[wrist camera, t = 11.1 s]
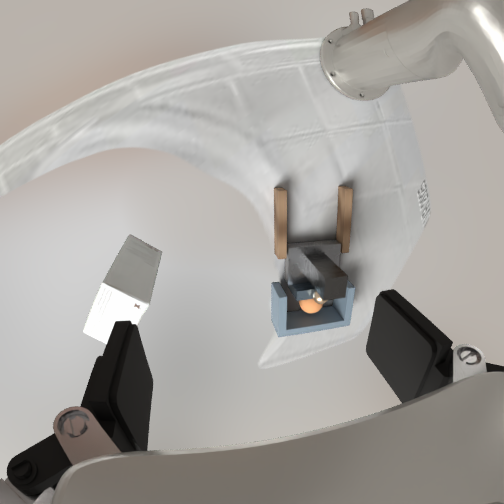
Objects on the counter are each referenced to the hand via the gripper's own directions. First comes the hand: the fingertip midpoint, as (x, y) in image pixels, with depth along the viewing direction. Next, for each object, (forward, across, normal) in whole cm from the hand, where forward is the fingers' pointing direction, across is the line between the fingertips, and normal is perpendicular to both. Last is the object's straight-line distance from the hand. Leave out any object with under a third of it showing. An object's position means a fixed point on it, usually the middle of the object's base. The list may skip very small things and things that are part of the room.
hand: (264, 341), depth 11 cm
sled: (+33, -14, +12) cm, 38 cm away
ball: (+31, -14, +18) cm, 39 cm away
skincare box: (+34, +13, +10) cm, 37 cm away
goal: (+33, -14, +18) cm, 40 cm away
